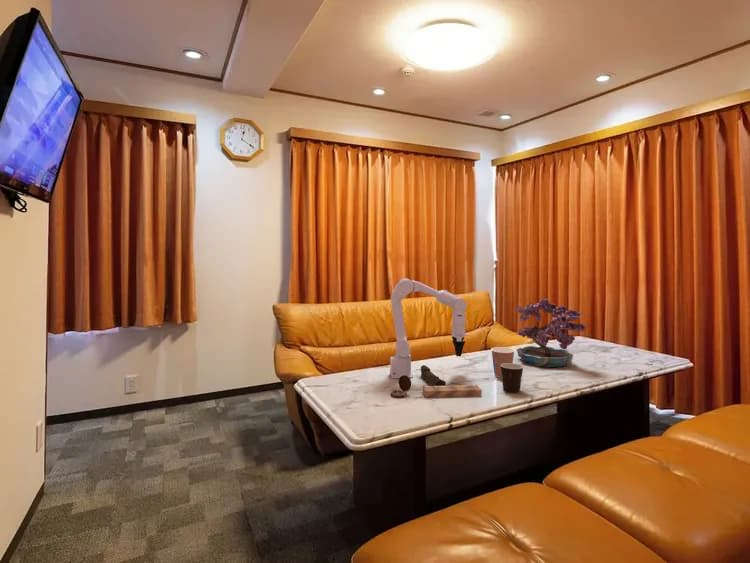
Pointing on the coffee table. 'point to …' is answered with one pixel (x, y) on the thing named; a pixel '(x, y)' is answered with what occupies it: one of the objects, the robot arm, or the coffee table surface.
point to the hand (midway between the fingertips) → (458, 354)
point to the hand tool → (431, 377)
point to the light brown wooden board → (452, 391)
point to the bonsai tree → (548, 334)
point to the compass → (402, 387)
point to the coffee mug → (511, 377)
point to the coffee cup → (501, 358)
